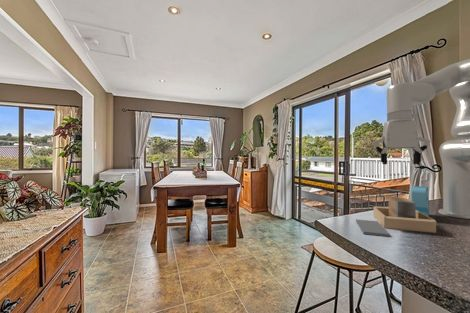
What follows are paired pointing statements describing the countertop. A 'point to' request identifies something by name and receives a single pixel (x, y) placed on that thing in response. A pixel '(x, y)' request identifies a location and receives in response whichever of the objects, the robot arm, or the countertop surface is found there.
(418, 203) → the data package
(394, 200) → the walnut box
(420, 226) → the carton
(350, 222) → the countertop surface
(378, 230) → the mat
